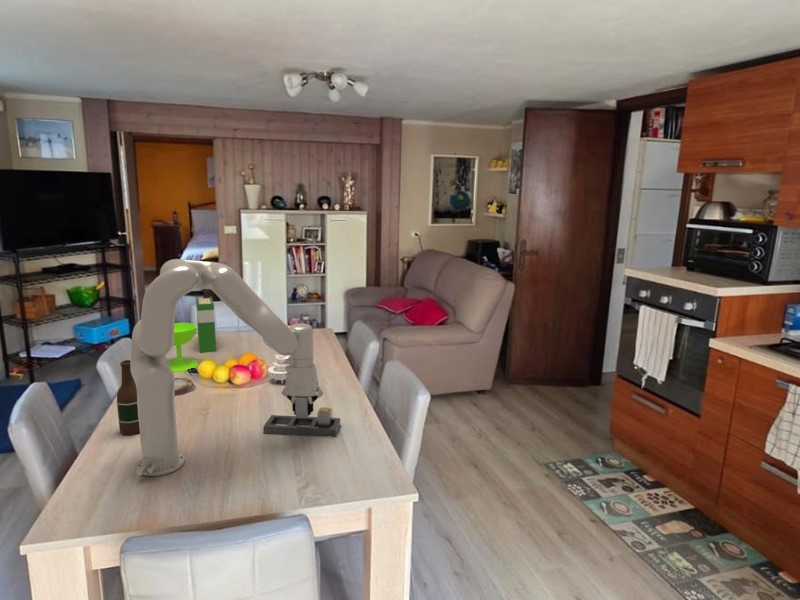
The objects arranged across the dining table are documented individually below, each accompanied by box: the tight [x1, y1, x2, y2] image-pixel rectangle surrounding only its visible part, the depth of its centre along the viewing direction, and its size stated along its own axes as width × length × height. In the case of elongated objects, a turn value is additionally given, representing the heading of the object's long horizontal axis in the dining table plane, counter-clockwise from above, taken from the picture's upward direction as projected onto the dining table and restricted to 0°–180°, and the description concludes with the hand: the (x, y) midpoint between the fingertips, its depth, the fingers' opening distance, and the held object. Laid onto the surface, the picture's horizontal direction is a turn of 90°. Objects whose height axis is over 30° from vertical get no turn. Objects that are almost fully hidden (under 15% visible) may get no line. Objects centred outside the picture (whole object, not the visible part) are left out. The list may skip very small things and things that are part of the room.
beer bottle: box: [116, 359, 140, 436], centre depth 169 cm, size 8×8×24 cm
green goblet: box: [166, 322, 200, 374], centre depth 231 cm, size 16×16×18 cm
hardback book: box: [195, 296, 217, 354], centre depth 258 cm, size 18×7×24 cm, turn 23°
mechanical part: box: [267, 352, 290, 384], centre depth 217 cm, size 11×12×12 cm
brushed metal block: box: [295, 396, 310, 418], centre depth 174 cm, size 4×4×8 cm
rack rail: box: [263, 414, 341, 438], centre depth 175 cm, size 24×9×2 cm, turn 87°
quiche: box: [174, 377, 197, 397], centre depth 207 cm, size 21×20×4 cm
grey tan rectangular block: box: [317, 406, 333, 428], centre depth 174 cm, size 4×4×8 cm
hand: (303, 412), depth 174 cm, fingers closed on brushed metal block, 4 cm apart
